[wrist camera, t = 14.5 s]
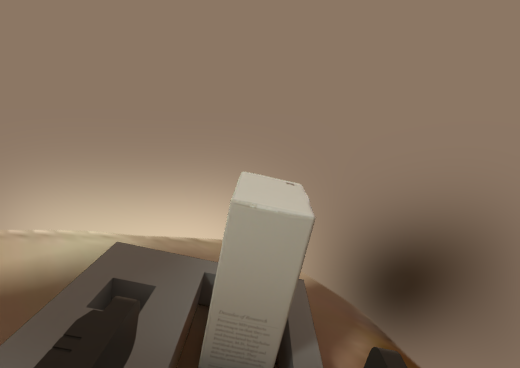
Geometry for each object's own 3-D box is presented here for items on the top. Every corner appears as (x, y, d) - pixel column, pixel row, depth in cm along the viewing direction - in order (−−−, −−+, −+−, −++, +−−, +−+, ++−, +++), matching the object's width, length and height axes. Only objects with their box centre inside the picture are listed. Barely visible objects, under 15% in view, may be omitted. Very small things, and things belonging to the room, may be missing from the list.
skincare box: (210, 318, 22) (241, 169, 19) (265, 330, 22) (304, 183, 19) (189, 396, 16) (229, 196, 13) (264, 411, 16) (320, 216, 13)
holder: (-24, 421, 13) (-27, 369, 12) (114, 272, 24) (116, 241, 24) (320, 482, 13) (338, 436, 13) (295, 309, 25) (303, 279, 24)
